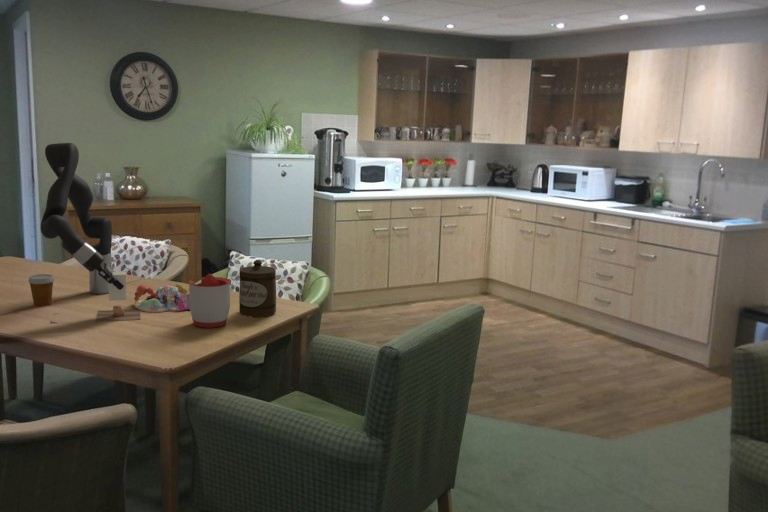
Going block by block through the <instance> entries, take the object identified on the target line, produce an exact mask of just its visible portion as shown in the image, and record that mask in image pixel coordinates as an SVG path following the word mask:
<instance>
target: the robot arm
mask: <svg viewBox="0 0 768 512" xmlns="http://www.w3.org/2000/svg"><path fill="white" fill-rule="evenodd" d="M44 155H45V158H46V161H47V164H49V166H50V169H51V170H52V171H53V173H54V174H55V176H56V177H57V179H55V181H54V182H53V183H52V185H51V186H50V188H49V190H48V194H47V198H46V204H45V205H46V207H45V209H44V213H43V215H42V219H41V222H40V232H41V234H42V236H44V238H47V239H50V240H51V239H56V238H57V237H59V238H60V239H61V241H62V242H61V247H62V248H63V250H65V251H66V252H68V253H69V255H71V256H72V257H73V258H74V259H75V260H76V261H77V262H78V263H79V264H80V265H82V266H83V267H84V268H85V269H86V270H87V271H88V279H89V293H90V294H95V295H96V294H97V295H98V294H99V295H100V294H101V295H103V294H109V284H113V285H114V286H115V287H117V288H118V289H119V290H121V289H122V288H123V287H124V285H123V284H121V283H120V282H119V281H118V280H117V279H116V278H115V277H114V276H113V275H114V274H113V273H112V272H115V270H114V269H113V268H112V243H113V242H112V241H113V240H112V239H113V225H112V221H111V220H110V218H109V217H101V216H98V217H97V216H93V215H91V212H90V209H91V207H92V204H93V201H94V194H93V192H92V190H91V188H90V186H89V184H88V183H87V181H85V179H83V178H82V177H81V176H79V175H78V174H76V171H77V167H78V163H79V159H80V153H79V148H78V147H77V145H76V144H75V143H73V142H59V143H50V144H48V145H46V147H45V149H44ZM68 200H69V201H68ZM68 202H70V203H71V205H72V207H73V209H74V211H75V214H76V216H77V218H78V221H79V224H80V226H81V229H82V231H83V234H84V235H85V236H86V237H87V238H90V239H99V242H98V243H97V244H94V245H91V244H89V243H88V242H86V240H85V239H83V238H82V237H81V236H79V235H78V233H77V232H76V230H75V229H74V227H72V225H71V224H70V222H69V221H68V220H67V219H66V218H65V217H64V214H65V213H66V211H67V207H68ZM110 277H111V278H112V279H111V280H109V278H110Z"/></svg>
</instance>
